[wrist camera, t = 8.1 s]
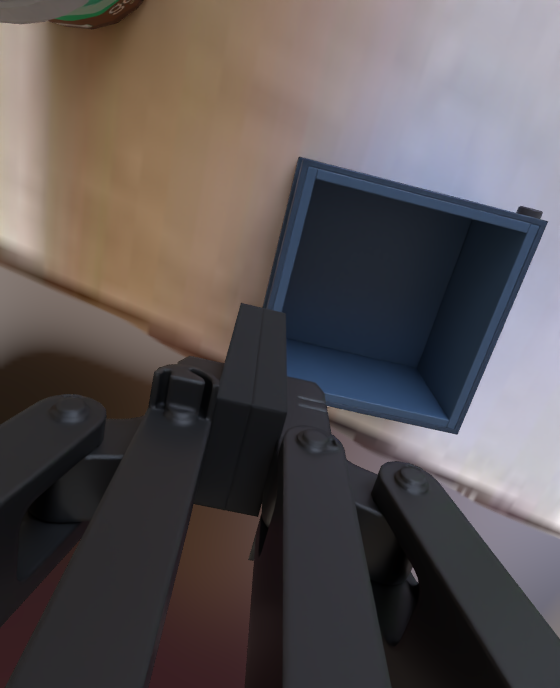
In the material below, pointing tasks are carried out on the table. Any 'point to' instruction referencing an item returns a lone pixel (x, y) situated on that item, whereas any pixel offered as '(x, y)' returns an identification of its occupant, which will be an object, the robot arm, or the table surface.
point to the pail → (395, 291)
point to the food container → (67, 12)
